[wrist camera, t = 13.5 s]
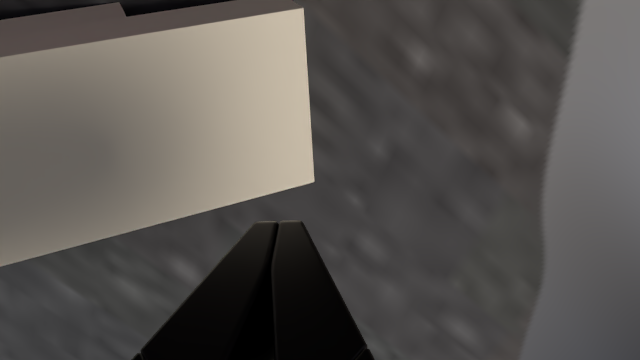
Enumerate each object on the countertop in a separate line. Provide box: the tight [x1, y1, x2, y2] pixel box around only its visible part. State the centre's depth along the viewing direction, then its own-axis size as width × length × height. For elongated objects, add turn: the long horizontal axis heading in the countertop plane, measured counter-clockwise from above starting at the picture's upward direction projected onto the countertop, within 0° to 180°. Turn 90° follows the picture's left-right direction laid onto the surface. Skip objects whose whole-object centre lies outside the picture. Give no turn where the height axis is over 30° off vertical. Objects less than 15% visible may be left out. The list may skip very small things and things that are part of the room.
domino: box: [0, 0, 314, 266], centre depth 13 cm, size 2×5×9 cm
